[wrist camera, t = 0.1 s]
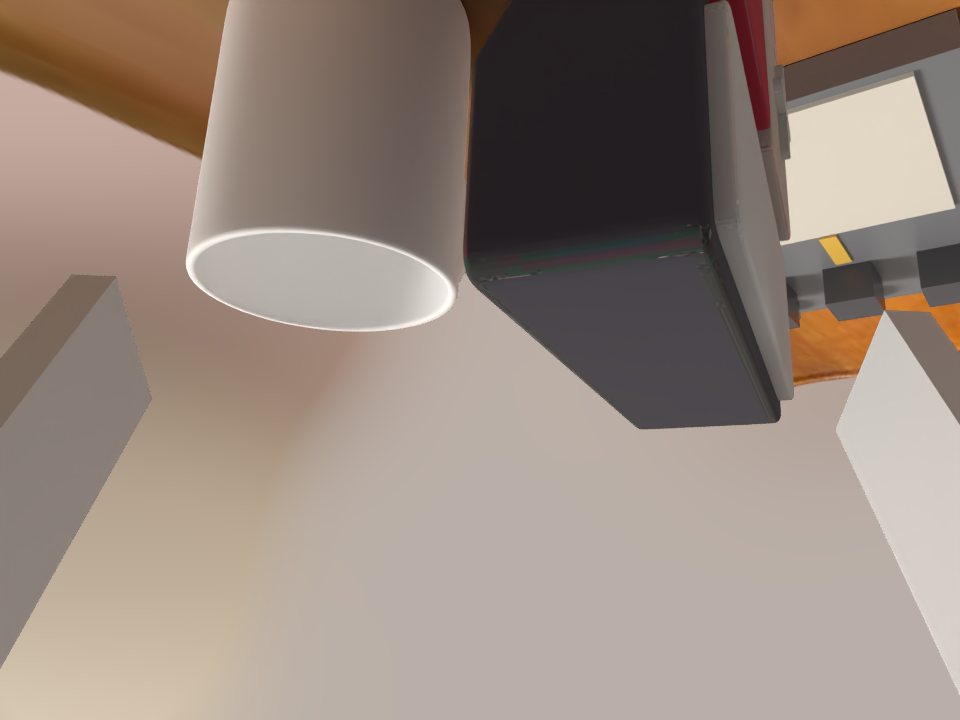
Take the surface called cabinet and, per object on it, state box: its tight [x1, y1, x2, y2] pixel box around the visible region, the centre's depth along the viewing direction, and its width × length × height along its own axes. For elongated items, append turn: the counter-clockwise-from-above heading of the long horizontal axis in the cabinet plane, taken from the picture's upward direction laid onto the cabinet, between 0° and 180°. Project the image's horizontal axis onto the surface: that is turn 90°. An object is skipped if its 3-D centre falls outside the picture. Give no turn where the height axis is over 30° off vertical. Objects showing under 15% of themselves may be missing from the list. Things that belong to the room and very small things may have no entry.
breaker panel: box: [780, 9, 960, 329], centre depth 38 cm, size 22×14×4 cm, turn 36°
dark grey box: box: [463, 0, 794, 429], centre depth 17 cm, size 11×4×15 cm, turn 24°
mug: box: [186, 0, 471, 331], centre depth 28 cm, size 12×8×10 cm
